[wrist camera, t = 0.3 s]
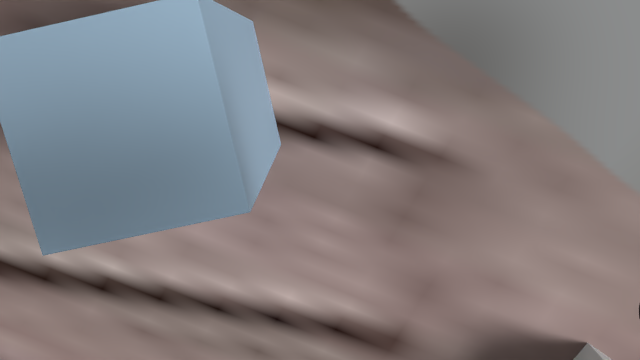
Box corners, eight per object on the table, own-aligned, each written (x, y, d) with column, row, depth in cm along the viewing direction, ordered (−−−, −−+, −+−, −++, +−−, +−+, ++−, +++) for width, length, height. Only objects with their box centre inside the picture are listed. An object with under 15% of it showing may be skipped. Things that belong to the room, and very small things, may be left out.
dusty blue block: (280, 144, 23) (250, 212, 13) (162, 169, 23) (42, 255, 13) (252, 21, 22) (196, -8, 12) (130, 48, 22) (-25, 42, 12)
